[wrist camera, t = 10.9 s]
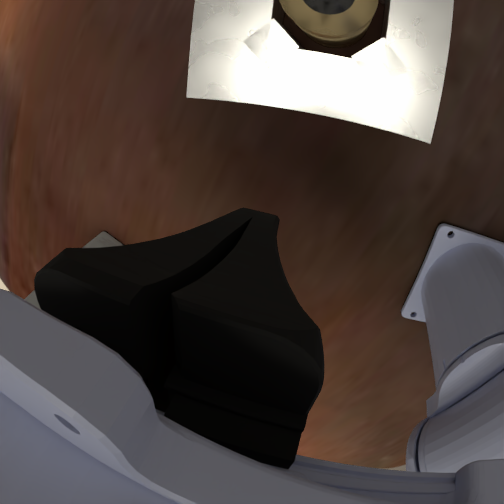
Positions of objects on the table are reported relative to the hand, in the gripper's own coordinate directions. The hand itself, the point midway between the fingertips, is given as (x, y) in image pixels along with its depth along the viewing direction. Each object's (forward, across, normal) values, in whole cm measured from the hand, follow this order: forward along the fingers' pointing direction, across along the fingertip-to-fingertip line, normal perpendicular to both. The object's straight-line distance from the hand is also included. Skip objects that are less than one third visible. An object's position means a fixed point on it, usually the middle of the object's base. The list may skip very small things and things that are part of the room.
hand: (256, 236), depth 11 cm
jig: (+10, -1, -10) cm, 14 cm away
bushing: (+10, -1, -10) cm, 14 cm away
